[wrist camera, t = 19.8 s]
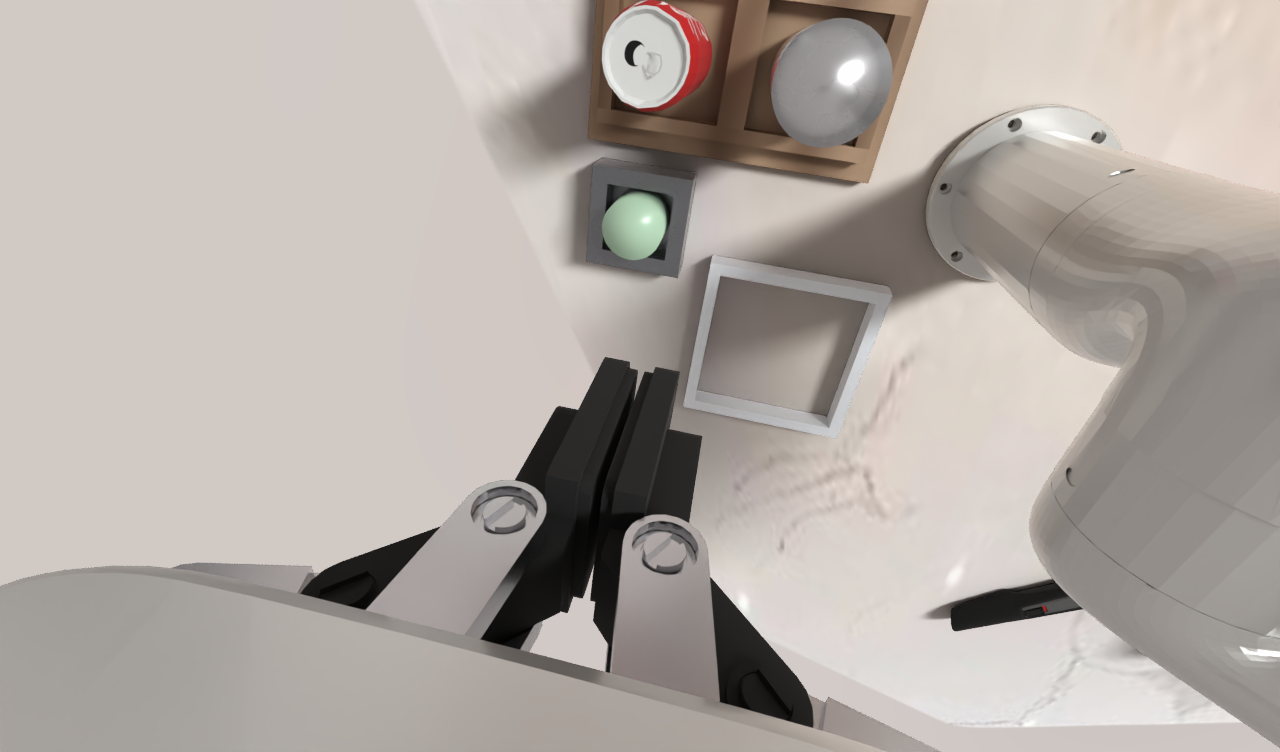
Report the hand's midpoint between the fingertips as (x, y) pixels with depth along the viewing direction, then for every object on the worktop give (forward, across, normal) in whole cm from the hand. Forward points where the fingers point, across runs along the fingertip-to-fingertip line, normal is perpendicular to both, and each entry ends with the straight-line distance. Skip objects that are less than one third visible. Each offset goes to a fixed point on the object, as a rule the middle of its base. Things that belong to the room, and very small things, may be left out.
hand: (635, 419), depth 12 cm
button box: (+37, +6, +6) cm, 38 cm away
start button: (+36, +6, +6) cm, 37 cm away
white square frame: (+37, -8, +16) cm, 41 cm away
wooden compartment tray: (+37, 0, -6) cm, 38 cm away
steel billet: (+36, -5, -6) cm, 37 cm away
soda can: (+36, +5, -6) cm, 37 cm away
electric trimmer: (+38, -41, +40) cm, 69 cm away
